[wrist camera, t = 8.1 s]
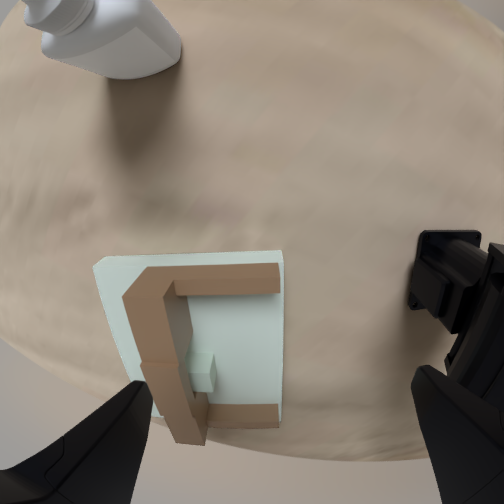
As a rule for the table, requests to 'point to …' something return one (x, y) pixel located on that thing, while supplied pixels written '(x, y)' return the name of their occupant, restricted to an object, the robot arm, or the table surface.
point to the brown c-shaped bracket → (178, 338)
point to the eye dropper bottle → (106, 35)
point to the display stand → (209, 329)
